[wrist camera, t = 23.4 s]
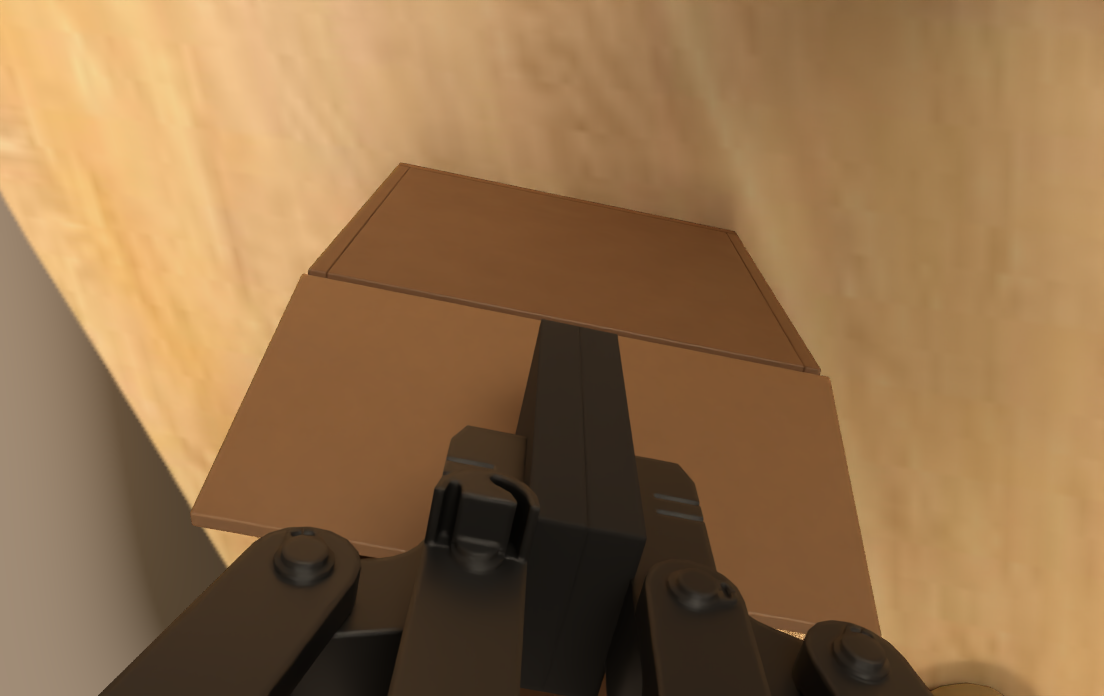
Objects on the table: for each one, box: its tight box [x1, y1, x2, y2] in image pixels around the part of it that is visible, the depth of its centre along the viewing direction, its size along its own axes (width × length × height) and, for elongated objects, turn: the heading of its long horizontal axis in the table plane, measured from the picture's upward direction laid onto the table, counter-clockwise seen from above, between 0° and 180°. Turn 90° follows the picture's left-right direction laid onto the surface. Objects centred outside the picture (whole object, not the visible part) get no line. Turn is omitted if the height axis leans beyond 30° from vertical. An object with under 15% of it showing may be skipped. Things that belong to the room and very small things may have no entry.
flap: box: [190, 274, 881, 637], centre depth 18 cm, size 7×13×1 cm
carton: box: [308, 163, 821, 696], centre depth 27 cm, size 15×13×19 cm
